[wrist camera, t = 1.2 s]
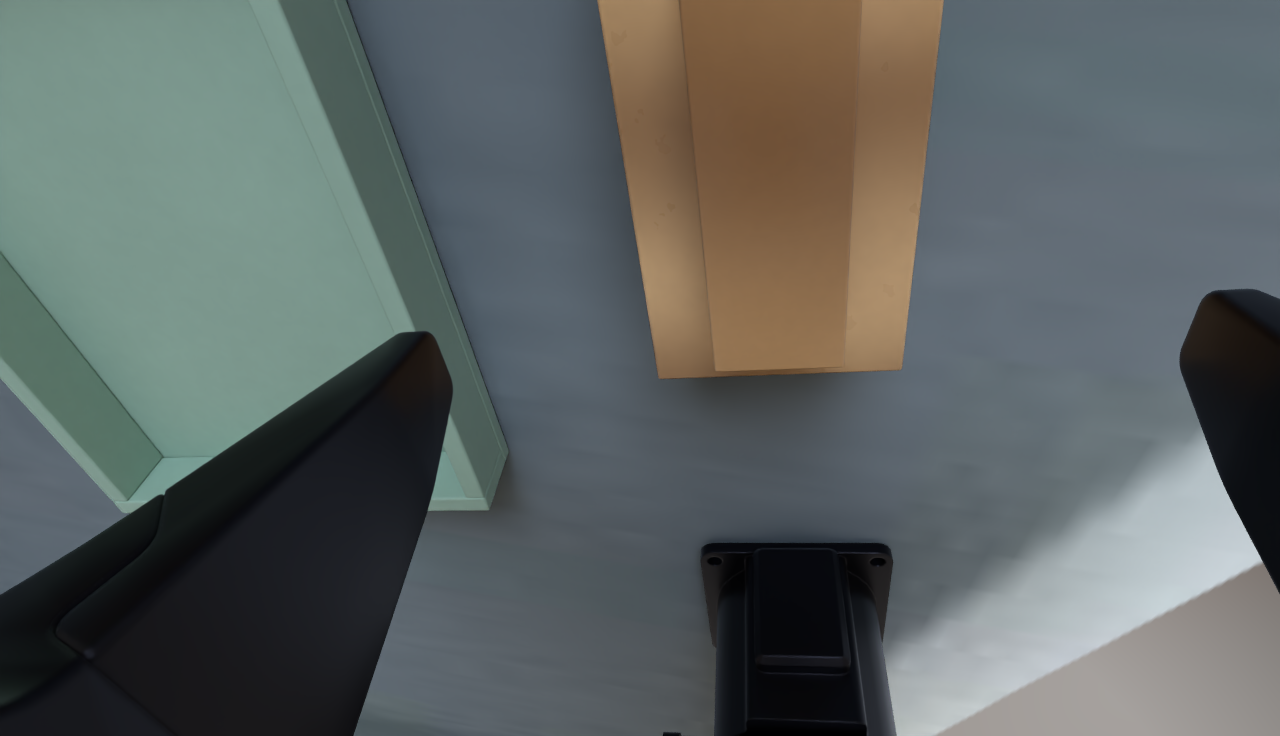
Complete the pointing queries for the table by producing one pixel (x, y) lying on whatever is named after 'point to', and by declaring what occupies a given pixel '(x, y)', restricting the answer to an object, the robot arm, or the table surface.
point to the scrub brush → (774, 176)
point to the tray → (208, 234)
